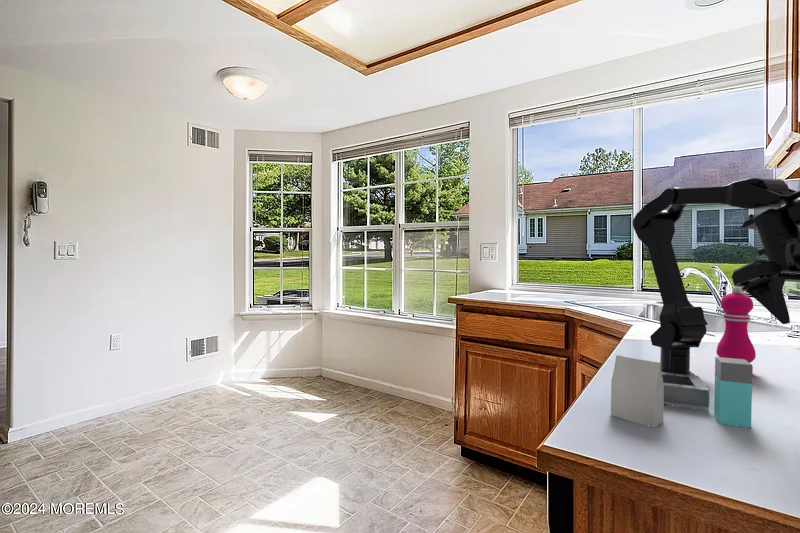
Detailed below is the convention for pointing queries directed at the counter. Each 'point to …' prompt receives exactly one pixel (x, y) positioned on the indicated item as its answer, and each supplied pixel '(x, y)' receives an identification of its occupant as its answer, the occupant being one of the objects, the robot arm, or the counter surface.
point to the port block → (685, 391)
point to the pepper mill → (736, 327)
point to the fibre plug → (733, 391)
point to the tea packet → (637, 390)
